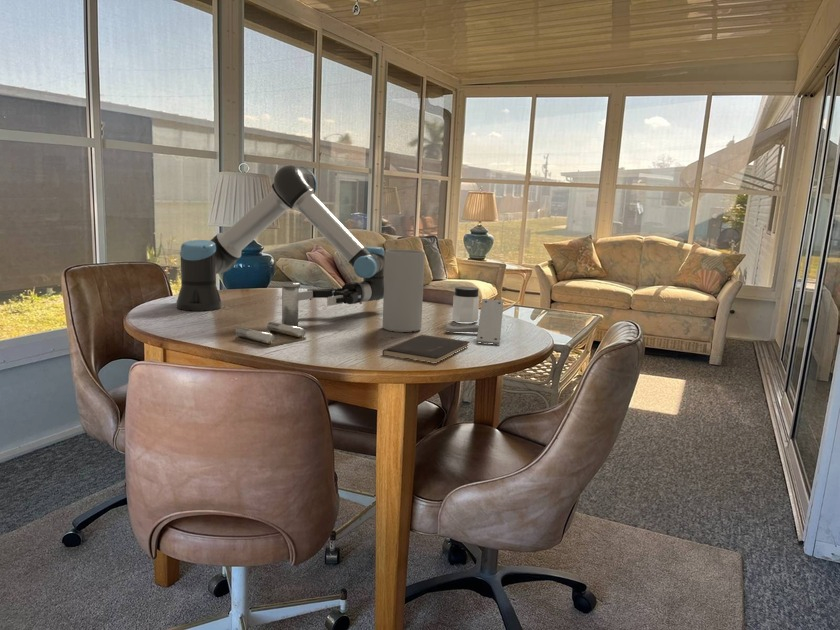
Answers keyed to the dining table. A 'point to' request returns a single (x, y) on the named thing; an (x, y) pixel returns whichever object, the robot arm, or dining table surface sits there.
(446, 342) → the hardcover book
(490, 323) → the door handle
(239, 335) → the hinge leaf
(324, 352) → the dining table surface
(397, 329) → the cylinder vase
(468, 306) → the jar
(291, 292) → the hinge pin
